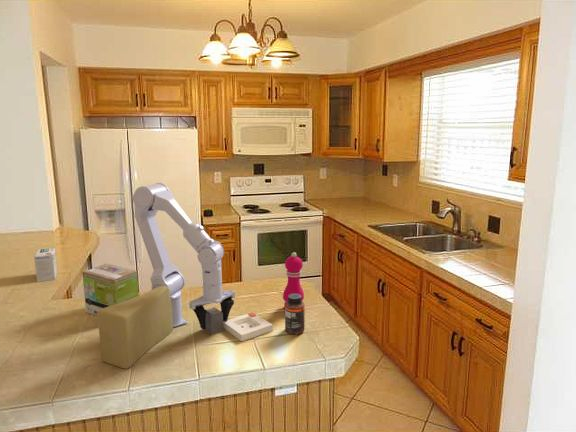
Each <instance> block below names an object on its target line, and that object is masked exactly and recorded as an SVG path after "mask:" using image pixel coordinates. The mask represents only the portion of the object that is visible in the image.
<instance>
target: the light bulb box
mask: <svg viewBox="0 0 576 432" xmlns="http://www.w3.org/2000/svg"><path fill="white" fill-rule="evenodd" d="M56 257H57V256H56V250H55V247H51V248H50V247H49V248H40V249H36V252H35V255H34V259H33V260H34V268H35V274H36V275H35V276H36V281H37V282H38V283H39V282H47V281H48V282H49V281H55V280H56V277H57V273H58V269H57V258H56Z"/></svg>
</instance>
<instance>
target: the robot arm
mask: <svg viewBox="0 0 576 432" xmlns="http://www.w3.org/2000/svg"><path fill="white" fill-rule="evenodd" d="M131 200H132V201H133V204H134V218H135V221H136V223H137V226H138V229H139V232H140V234H141V238H142V241H143V244H144V246H145V249H146V252H147V255H148V258H149V260H150V263H151V266H152V269H153V271H152V273H151V276H150V282H151V290H153V289H155V288H157V287H160V286H166V287H168V288H169V293H170V300H171V307H172V320H173V328H175V327H179V326H182V325H185V324H188V321H187V320H186V319H185V318H184V317H183V313H182V312H183V311H182V310H183V309H182V289H183V288H184V287H185V284H186V281H185V277H184V276H183V274H182V273H181V272H180V270H179V267H178V266H177V265H174V264H173V263H172V262H171V260H170V256H169V253H168V250H167V247H166V245H165V242H164V238H163V236H162V233H161V230H160V228H159V225H158V221H157V219H156V214H157V212H158V211H161V212H165V213H166V214H167V215H168V216H169V217H170V218H171V219H172V220H173V221H174V222H175V224H177V225H178V226H179V227H180V228H181V229H182V231H183V233H182V235H183V238H184V239H185V240H186V241H187V242H188V244H189V245H190V246H191V247H192V249H194V251H196V253H197V260H198V262H199V263H200V265H201V273H202V274H201V275H202V279H201V280H202V296H198V297H197V298H195V299H194V300H189V302H188V303H189V308H190V309H191V310H193V312H194V314H195V315H196V318H197V320H198V322H199V323H198V324H199V328H200V329H202V330H203V331H204V330H205V329H206V321H205V319H206V312H207V310H206V309H205V306H206V305H210V304H219V305H220V311H221V312H222V313H223V321H225V322H227V320H229V315H230V312H231V309H232V308H233V306H234V304H235V300H234V299H236V291H235V290H233V289H232V290H225V291H224V290H223V279H222V278H223V276H222V274H223V273H222V258H224V256H225V248H224V247H223V245H222V243H221V242H219V241H217V240H214V239H213V238H211V237H210V236H209V234H208V233H207V232H206V231H205V230H204V229H205V227H204V226H203V225H200V224H199V223H198V222H196V223H195V222H192V220H191V219H190V217H188V215H187V214H186V212H185V211H184V209H183V208H182V207H181V206H180V204H179V203H178V202H177V200H176V199H175V197H174V194H173V191H171V190H170V189H169V186H167V185H166V184H164V183H162V182H158V183H154V184H150V185H149V184H148V185H143V186H139V187H137V188H136V189H135V191H134V193H133V195H132V197H131Z"/></svg>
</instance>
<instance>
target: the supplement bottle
mask: <svg viewBox="0 0 576 432" xmlns="http://www.w3.org/2000/svg"><path fill="white" fill-rule="evenodd" d="M301 300H302V299H301V295H299V294H290V295H289V296H288V301H287V302H286V304H285V308H284V313H285V314H284V318H285V319H284V325H285V326H284V328H285V329H284V330H285V332H286V333H288V334H290V335H298V334H302V333H303V332H304V331H305V324H306V323H305V321H306V320H305V313H306V312H305V308H306V307H305V303H304V302H303V301H301Z"/></svg>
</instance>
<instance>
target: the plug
mask: <svg viewBox="0 0 576 432" xmlns="http://www.w3.org/2000/svg"><path fill="white" fill-rule="evenodd" d="M205 310H207V312H206V319H205V321H206V329H204V330H205V331H206V332H208V334H210V335H211V336H212V334H213V335H215V333H216V334H218V333H222V332H224V328H223V313H222V312H221V310H219V309H218V308H216V306H215V307H214V306H213V307H211V308H207V309H205Z"/></svg>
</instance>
